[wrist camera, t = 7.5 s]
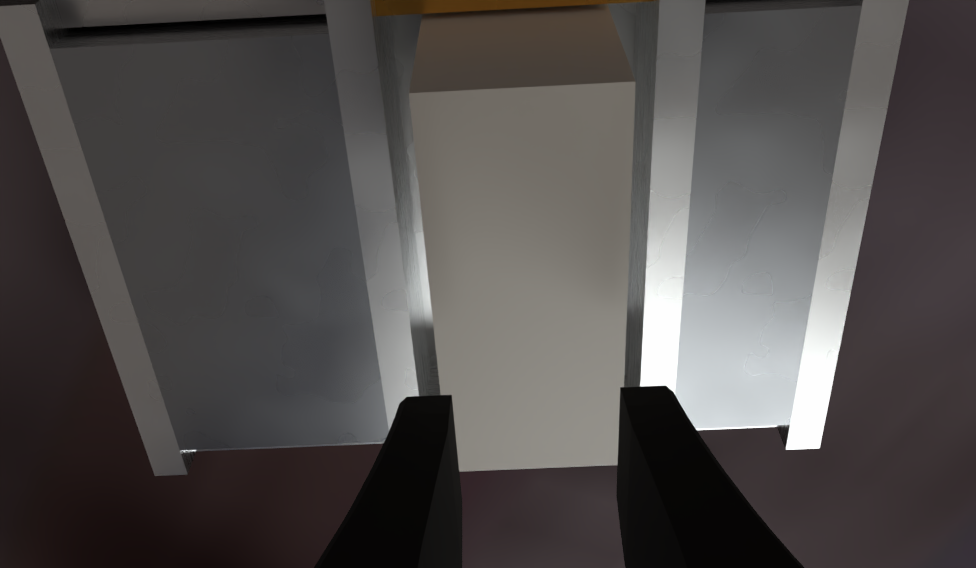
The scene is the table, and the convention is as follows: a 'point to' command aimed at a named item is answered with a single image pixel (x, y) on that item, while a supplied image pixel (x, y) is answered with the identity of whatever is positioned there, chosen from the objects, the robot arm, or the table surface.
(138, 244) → the rack
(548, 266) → the beige rectangular block
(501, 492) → the table surface
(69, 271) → the table surface
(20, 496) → the table surface
